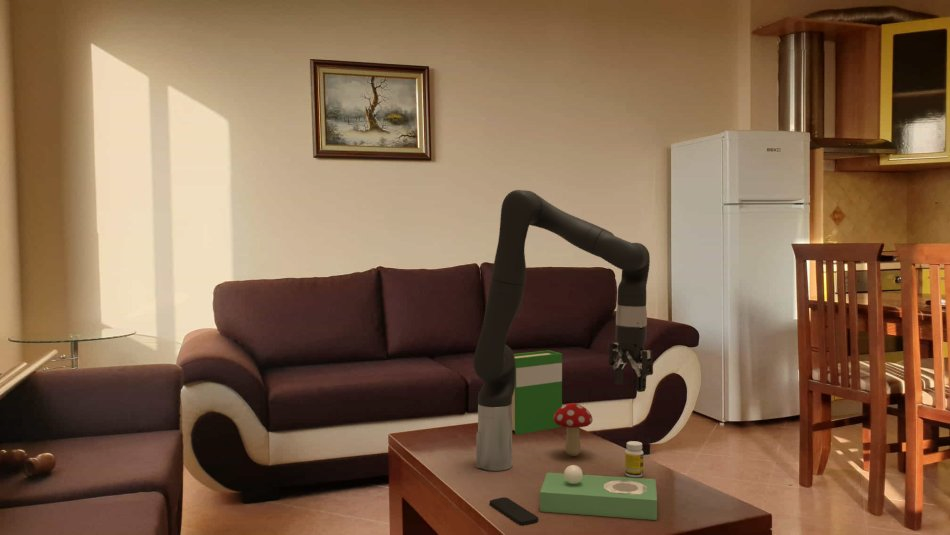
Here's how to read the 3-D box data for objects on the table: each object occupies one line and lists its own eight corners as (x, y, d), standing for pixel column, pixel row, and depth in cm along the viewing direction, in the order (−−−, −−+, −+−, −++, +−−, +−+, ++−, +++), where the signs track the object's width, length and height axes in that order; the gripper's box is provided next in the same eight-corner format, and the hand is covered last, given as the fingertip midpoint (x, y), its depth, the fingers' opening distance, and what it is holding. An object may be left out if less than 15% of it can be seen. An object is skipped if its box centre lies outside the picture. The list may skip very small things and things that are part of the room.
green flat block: (540, 511, 173) (540, 492, 172) (547, 490, 186) (547, 472, 186) (656, 520, 167) (657, 500, 167) (655, 497, 181) (655, 479, 181)
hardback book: (516, 434, 236) (516, 358, 234) (503, 429, 242) (503, 355, 241) (561, 427, 244) (562, 353, 243) (548, 421, 251) (548, 350, 249)
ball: (563, 486, 176) (563, 467, 176) (564, 480, 180) (564, 462, 180) (582, 487, 175) (582, 469, 175) (583, 481, 179) (583, 463, 179)
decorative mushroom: (600, 455, 214) (600, 403, 214) (578, 464, 206) (579, 410, 205) (567, 447, 222) (567, 397, 221) (545, 456, 213) (545, 404, 212)
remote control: (540, 526, 167) (505, 501, 180) (540, 518, 166) (505, 494, 180) (521, 530, 164) (487, 505, 177) (521, 522, 164) (487, 498, 177)
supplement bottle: (643, 478, 195) (643, 446, 194) (624, 477, 196) (625, 445, 195) (643, 472, 199) (643, 441, 199) (624, 471, 200) (625, 440, 200)
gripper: (601, 320, 192) (600, 383, 193) (638, 328, 179) (636, 395, 180) (625, 319, 195) (623, 381, 196) (662, 326, 182) (660, 392, 183)
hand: (629, 387), depth 188 cm, fingers open, 8 cm apart
